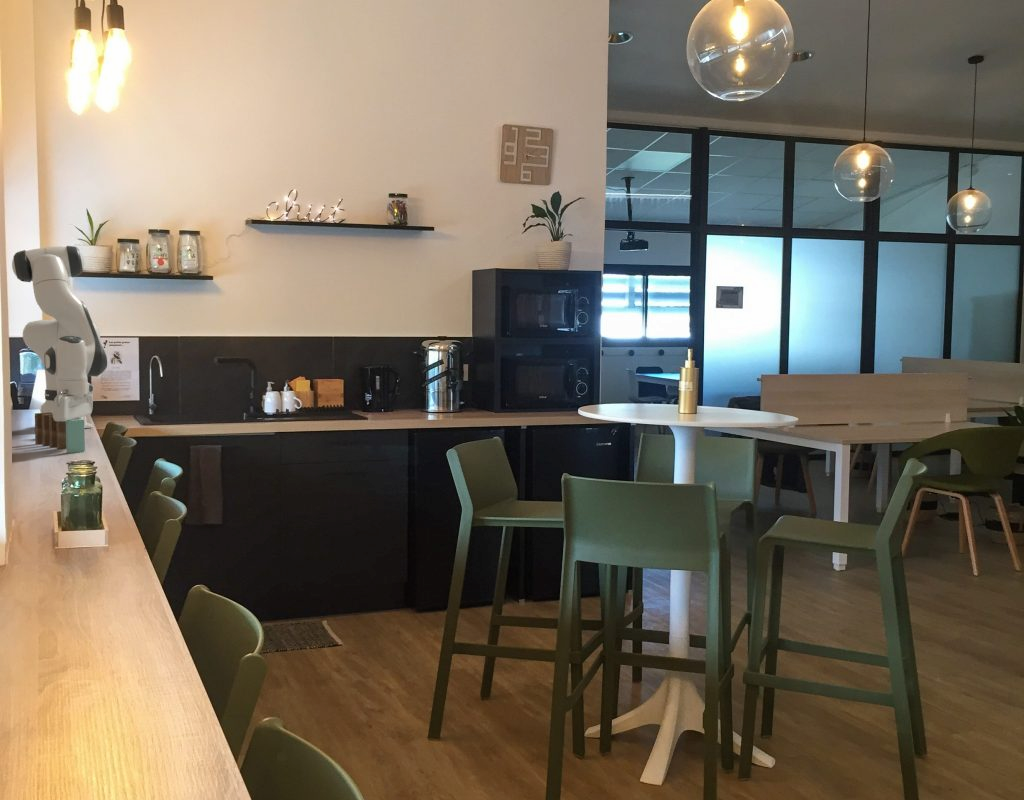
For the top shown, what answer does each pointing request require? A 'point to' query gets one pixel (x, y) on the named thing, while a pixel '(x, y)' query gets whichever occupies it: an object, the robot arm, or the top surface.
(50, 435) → the domino
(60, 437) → the domino
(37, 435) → the domino
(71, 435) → the domino
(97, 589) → the top surface
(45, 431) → the domino
